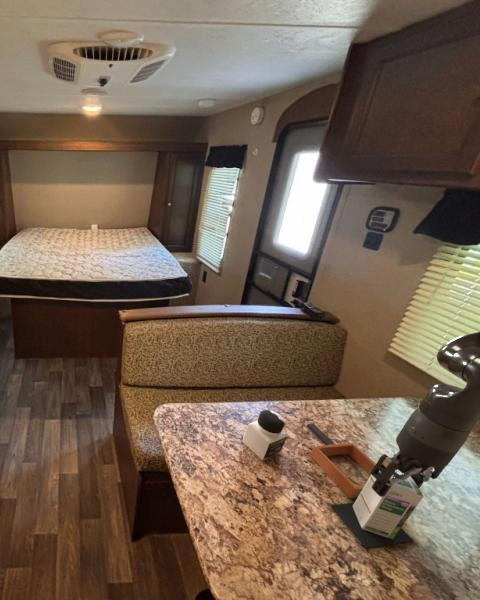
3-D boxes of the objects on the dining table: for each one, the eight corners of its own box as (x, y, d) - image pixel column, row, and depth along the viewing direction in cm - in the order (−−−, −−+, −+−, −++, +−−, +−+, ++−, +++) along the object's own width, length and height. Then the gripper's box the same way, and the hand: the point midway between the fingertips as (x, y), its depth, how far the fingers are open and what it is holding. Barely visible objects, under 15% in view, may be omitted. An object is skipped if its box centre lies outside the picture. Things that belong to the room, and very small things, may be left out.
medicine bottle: (262, 461, 86) (276, 429, 81) (241, 441, 92) (252, 410, 87) (280, 453, 89) (294, 421, 84) (258, 434, 95) (270, 404, 90)
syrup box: (361, 529, 71) (390, 486, 65) (351, 505, 76) (377, 463, 70) (392, 540, 69) (425, 497, 63) (380, 514, 74) (409, 472, 68)
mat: (372, 501, 77) (373, 500, 77) (412, 541, 69) (413, 540, 69) (330, 506, 76) (331, 505, 76) (366, 548, 68) (367, 547, 67)
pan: (324, 429, 98) (328, 421, 97) (392, 493, 80) (399, 484, 78) (288, 432, 96) (292, 424, 95) (349, 498, 78) (355, 489, 76)
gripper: (422, 454, 57) (382, 512, 63) (486, 448, 59) (440, 504, 65) (381, 422, 63) (348, 477, 70) (439, 418, 66) (402, 471, 72)
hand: (393, 490), depth 68 cm, fingers closed on syrup box, 7 cm apart
